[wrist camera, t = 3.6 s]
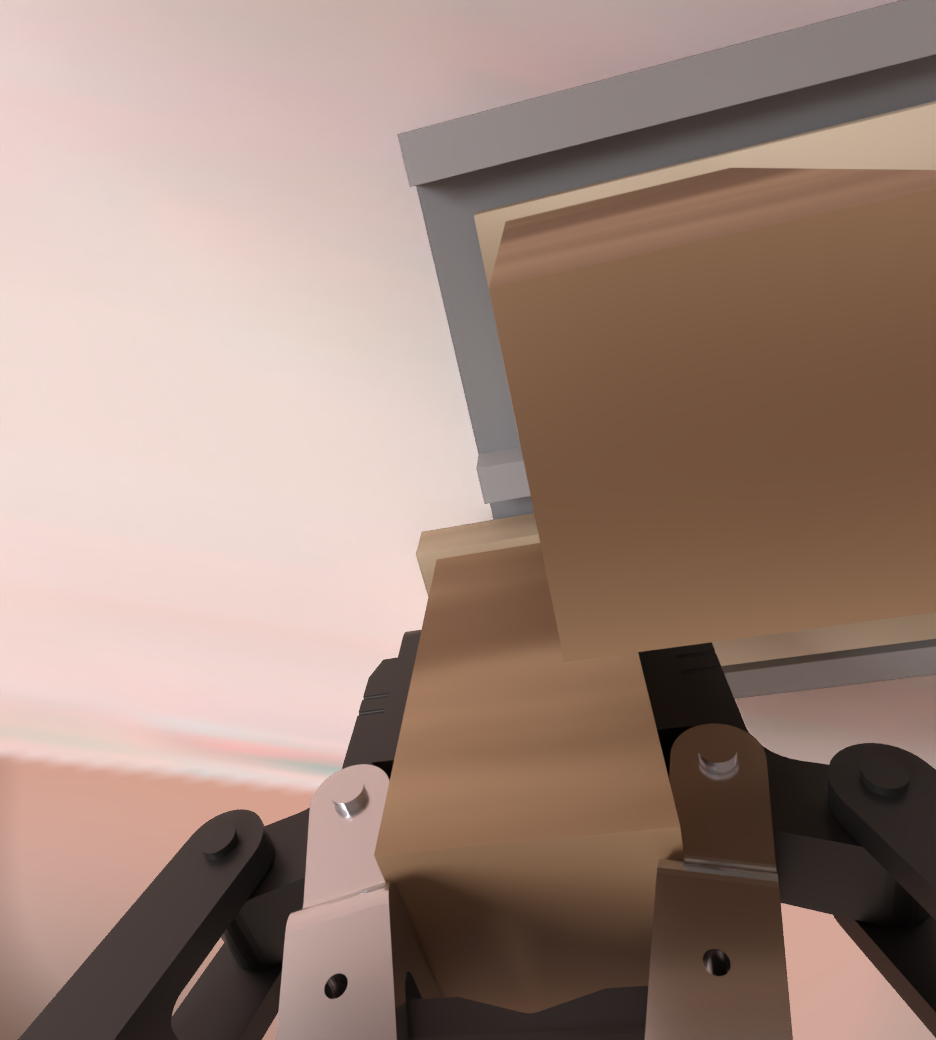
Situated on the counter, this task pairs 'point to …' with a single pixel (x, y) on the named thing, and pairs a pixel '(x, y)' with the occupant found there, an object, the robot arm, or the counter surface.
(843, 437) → the short strip
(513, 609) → the cube strip
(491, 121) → the lane board
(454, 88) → the counter surface
